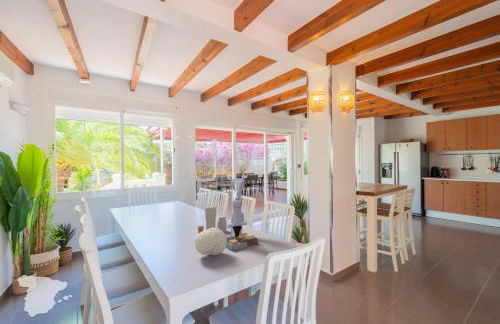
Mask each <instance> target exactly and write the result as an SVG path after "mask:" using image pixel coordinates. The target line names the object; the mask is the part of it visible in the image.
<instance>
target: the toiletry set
mask: <svg viewBox="0 0 500 324" xmlns="http://www.w3.org/2000/svg"><path fill="white" fill-rule="evenodd" d="M204 212H205V213H204V215H205V227H204V225H203V224H202V225H201V224H199V225H198V226H197V235H198V234H200V233H201V232H202V231H204V228H205V231H206V230H207V229H209V228H218V229H220V230H222V231H223V232H224V233H226V232H227V229H228V228H227V225H228V224H227V223H228V222H227V221H228V220H227V217H226V215H219V216H218V219H216V217H217V206H213V207H207V208H206V207H205V208H204ZM216 220H217V223H216ZM216 224H217V227H216Z"/></svg>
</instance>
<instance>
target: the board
mask: <svg viewBox="0 0 500 324" xmlns="http://www.w3.org/2000/svg"><path fill="white" fill-rule="evenodd" d="M247 234H248V233H247V232H244V233H242V234H239V237H236V236H235V240H237V241H238V242H239V243H245V242H247V247H251V246H256V245H258V244H259V238H258V237H256V236H254V238H253V239H247V238H245V235H247ZM250 245H251V246H250Z"/></svg>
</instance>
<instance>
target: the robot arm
mask: <svg viewBox="0 0 500 324" xmlns="http://www.w3.org/2000/svg"><path fill="white" fill-rule="evenodd" d="M231 189H232V190H234V193H233V200H232V213H231V217H230V219H231V220H230V223H229V224H227V229H230V233H229V236H230V237H232V236H236V237H239V234H243V226H247V221H245V215H244V214H245V213H244V212H242V208H243V200H242V191H243V190H244V189H245V178H234V177H232V179H231Z"/></svg>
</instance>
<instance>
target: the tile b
mask: <svg viewBox="0 0 500 324" xmlns="http://www.w3.org/2000/svg"><path fill="white" fill-rule="evenodd" d="M254 237H255V235H254V234H252V233H247V235H245V238H247V239H253V238H254Z"/></svg>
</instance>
